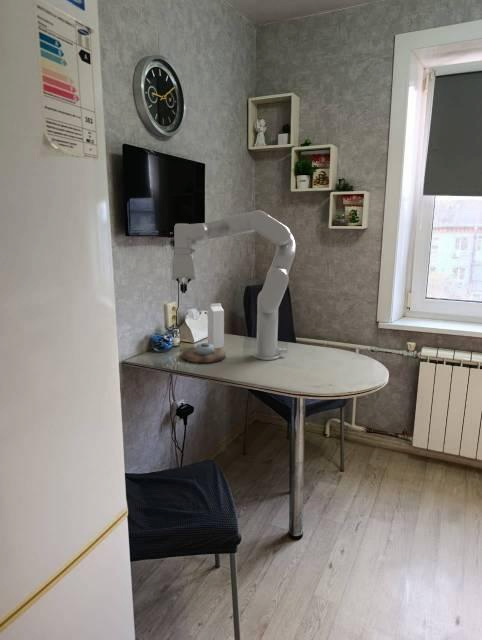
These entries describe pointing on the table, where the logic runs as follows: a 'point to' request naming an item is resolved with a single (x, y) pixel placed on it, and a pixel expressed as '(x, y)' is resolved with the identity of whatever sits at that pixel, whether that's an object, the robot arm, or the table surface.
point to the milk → (216, 325)
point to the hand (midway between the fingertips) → (183, 292)
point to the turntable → (194, 357)
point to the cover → (205, 349)
